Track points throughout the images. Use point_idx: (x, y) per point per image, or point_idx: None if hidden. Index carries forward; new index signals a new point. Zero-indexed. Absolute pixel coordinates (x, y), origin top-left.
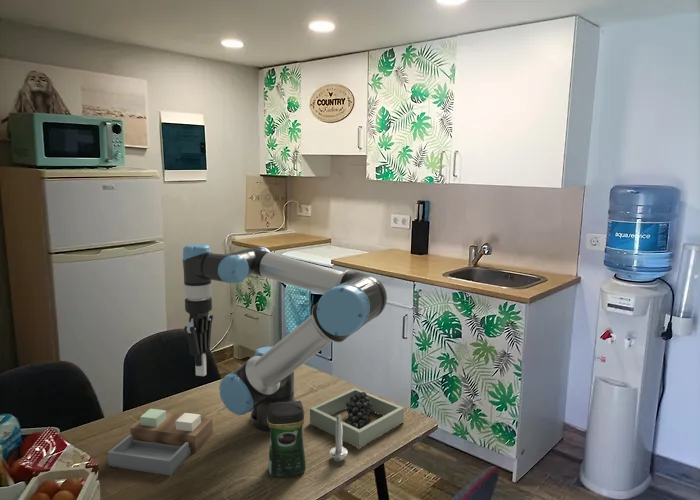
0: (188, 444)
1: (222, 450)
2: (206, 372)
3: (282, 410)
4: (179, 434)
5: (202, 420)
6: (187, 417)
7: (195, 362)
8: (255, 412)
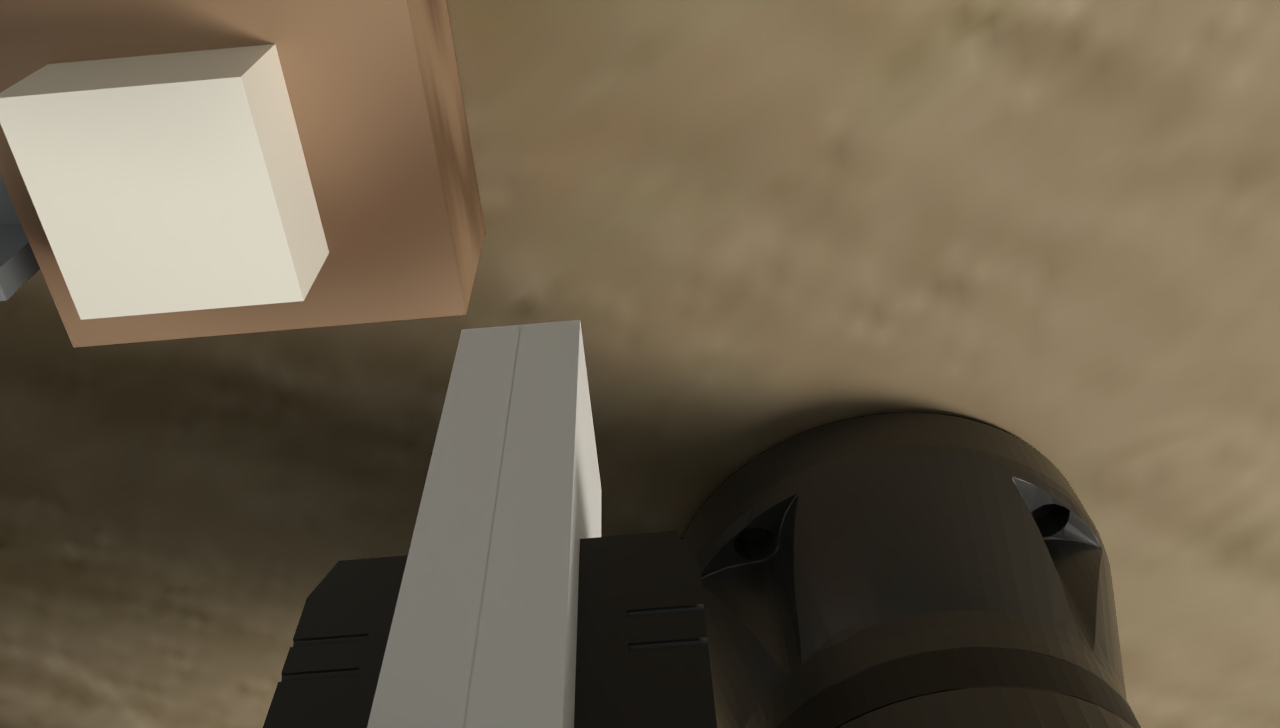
0: (12, 291)
1: (297, 434)
2: (600, 517)
3: None
4: (2, 168)
5: (381, 238)
6: (155, 192)
7: (290, 655)
8: (786, 562)
